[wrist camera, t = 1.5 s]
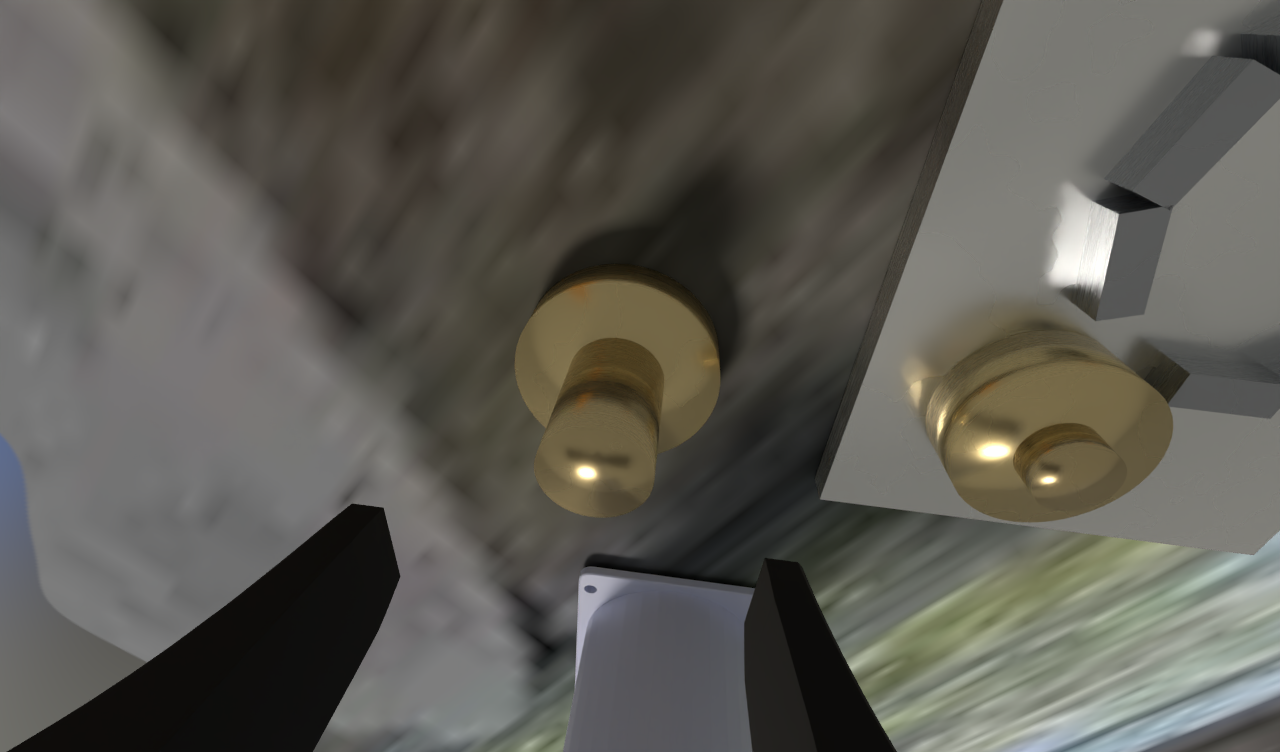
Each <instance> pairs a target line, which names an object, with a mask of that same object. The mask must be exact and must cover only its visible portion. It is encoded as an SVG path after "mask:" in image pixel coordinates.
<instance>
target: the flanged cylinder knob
mask: <svg viewBox="0 0 1280 752" xmlns="http://www.w3.org/2000/svg"><path fill="white" fill-rule="evenodd" d="M515 373H516V380H517V383H518V387H519V390H520V392H521V395H522V397H523V399H524V401H525V403H526V405H527V406H528V408H529V410H530V411H531V412H532V414H533V415H534V416H535V417H536V419H537V420H538V421H539V422H540V423H541V424H542V425H543V426H544V427H545V428H546V430H545V433H544V435H543V438H542V441H541V443H540V446H539V449H538V451H537V454H536V457H535V461H534V471H535V476H536V479H537V481H538V483H539V485H540V487H541V488H542V490H543V491H544V492H545V494H546V495H547V496H548V497H549V498H550V499H551V500H553V501H554V502H555V503H557V504H558V505H560V506H561V507H563V508H565V509H567V510H569V511H572V512H574V513H577V514H581V515H584V516H590V517H614V516H619V515H623V514H626V513H628V512H631V511H633V510H634V509H636V508H638V507H639V506H640V505H642V504H643V503H644V502H645V501H646V499H647V498H648V497H649V495H650V494H651V491H652V489H653V485H654V478H655V468H656V459H657V454H659V453H662V452H665V451H667V450H670V449H672V448H674V447H676V446H678V445H680V444H682V443H683V442H685V441H686V440H688V439H689V438H690V437H692V436H693V435H694V434H695V433H696V432H697V431H698V430H699V429H700V428H701V427H702V426H703V425H704V424H705V423H706V421H707V419H708V418H709V416H710V415H711V413H712V411H713V409H714V407H715V405H716V402H717V398H718V395H719V390H720V359H719V343H718V338H717V333H716V330H715V327H714V325H713V322H712V320H711V318H710V316H709V314H708V313H707V311H706V310H705V308H704V307H703V305H702V304H701V303H700V301H699V300H698V299H697V298H696V297H695V296H694V295H693V294H692V293H691V292H690V291H689V290H687V289H686V288H685V287H684V286H682V285H681V284H680V283H678V282H677V281H675V280H673V279H672V278H670V277H668V276H666V275H664V274H662V273H659V272H657V271H654V270H651V269H648V268H645V267H640V266H635V265H629V264H606V265H598V266H593V267H589V268H586V269H583V270H580V271H577V272H575V273H573V274H571V275H569V276H567V277H565V278H564V279H562V280H561V281H559V282H558V283H556V284H555V285H554V286H553V287H552V288H551V289H550V290H549V291H548V292H547V293H546V294H545V295H544V296H543V298H542V299H541V300H540V302H539V303H538V305H537V307H536V309H535V310H534V312H533V314H532V316H531V317H530V319H529V321H528V323H527V324H526V326H525V328H524V330H523V332H522V333H521V336H520V339H519V341H518V344H517V349H516V354H515Z"/></svg>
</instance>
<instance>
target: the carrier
mask: <svg viewBox="0 0 1280 752" xmlns="http://www.w3.org/2000/svg"><path fill="white" fill-rule="evenodd" d="M815 482H816V486H817V490H818V495H819V499H821V500H829V501H837V502H844V503H852V504H860V505H868V506H876V507H883V508H891V509H899V510H907V511H914V512H922V513H930V514H938V515H946V516H953V517H961V518H969V519H977V520H984V521H992V522H1000V523H1008V524H1016V525H1023V526H1031V527H1039V528H1047V529H1054V530H1062V531H1070V532H1078V533H1086V534H1093V535H1101V536H1109V537H1117V538H1124V539H1132V540H1140V541H1148V542H1156V543H1163V544H1171V545H1179V546H1187V547H1194V548H1202V549H1210V550H1218V551H1226V552H1233V553H1241V554H1249V555H1254V554H1255V553H1256V552H1257V551H1258V550H1259V549H1260V548H1262V547H1263V546H1264V545H1265V544H1266V543H1267V542H1268V541H1269V540H1270V539H1271V538H1272V537H1273V536H1274V535H1275V534H1276V533H1277V532H1278V531H1279V530H1280V0H982V3H981V6H980V9H979V12H978V14H977V17H976V20H975V23H974V26H973V29H972V32H971V34H970V37H969V40H968V43H967V46H966V49H965V51H964V54H963V57H962V60H961V63H960V66H959V69H958V71H957V74H956V77H955V80H954V83H953V86H952V88H951V91H950V94H949V97H948V100H947V103H946V106H945V108H944V111H943V114H942V117H941V120H940V123H939V125H938V128H937V131H936V134H935V137H934V140H933V143H932V145H931V148H930V151H929V154H928V157H927V160H926V163H925V165H924V168H923V171H922V174H921V177H920V180H919V182H918V185H917V188H916V191H915V194H914V197H913V200H912V202H911V205H910V208H909V211H908V214H907V217H906V219H905V222H904V225H903V228H902V231H901V234H900V237H899V239H898V242H897V245H896V248H895V251H894V254H893V256H892V259H891V262H890V265H889V268H888V271H887V274H886V276H885V279H884V282H883V285H882V288H881V291H880V293H879V296H878V299H877V302H876V305H875V308H874V311H873V313H872V316H871V319H870V322H869V325H868V328H867V331H866V333H865V336H864V339H863V342H862V345H861V348H860V350H859V353H858V356H857V359H856V362H855V365H854V368H853V370H852V373H851V376H850V379H849V382H848V385H847V387H846V390H845V393H844V396H843V399H842V402H841V405H840V407H839V410H838V413H837V416H836V419H835V422H834V424H833V427H832V430H831V433H830V436H829V439H828V442H827V444H826V447H825V450H824V453H823V456H822V459H821V461H820V464H819V467H818V470H817V473H816V476H815Z"/></svg>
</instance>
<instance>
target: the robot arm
mask: <svg viewBox="0 0 1280 752" xmlns="http://www.w3.org/2000/svg"><path fill="white" fill-rule="evenodd" d="M399 578H400V573H399V569H398V565H397V561H396V557H395V553H394V549H393V545H392V541H391V536H390V532H389V528H388V524H387V520H386V516H385V512H384V508H381V507H374V506H366V505H359V504H351V505H350V506H348V507H347V508H346V509H345V510H343V511H342V512H341V513H340V514H338V515H337V516H336V517H335V518H333V519H332V520H331V521H330V522H329V523H327V524H326V525H325V526H324V527H322V528H321V529H320V530H319V531H318V532H316V533H315V534H314V535H313V536H312V537H310V538H309V539H308V540H307V541H306V542H304V543H303V544H302V545H301V546H299V547H298V548H297V549H296V550H295V551H293V552H292V553H291V554H290V555H288V556H287V557H286V558H285V559H284V560H282V561H281V562H280V563H279V564H277V565H276V566H275V567H274V568H272V569H271V570H270V571H269V572H267V573H266V574H265V575H264V576H262V577H261V578H260V579H259V580H257V581H256V582H255V583H254V584H252V585H251V586H250V587H249V588H247V589H246V590H245V591H243V592H242V593H241V594H240V595H238V596H237V597H236V598H235V599H233V600H232V601H231V602H229V603H228V604H227V605H226V606H224V607H223V608H222V609H220V610H219V611H218V612H216V613H215V614H214V615H212V616H211V617H209V618H208V619H207V620H205V621H204V622H203V623H201V624H200V625H199V626H197V627H196V628H195V629H193V630H192V631H191V632H189V633H188V634H187V635H185V636H184V637H182V638H181V639H180V640H178V641H177V642H176V643H174V644H173V645H172V646H170V647H169V648H167V649H166V650H165V651H163V652H162V653H160V654H159V655H157V656H156V657H155V658H153V659H152V660H150V661H149V662H147V663H146V664H145V665H143V666H142V667H140V668H139V669H137V670H136V671H134V672H133V673H132V674H130V675H129V676H127V677H125V678H124V679H122V680H121V681H119V682H118V683H116V684H115V685H113V686H112V687H110V688H109V689H107V690H106V691H104V692H103V693H101V694H100V695H98V696H97V697H95V698H94V699H92V700H91V701H89V702H88V703H86V704H84V705H83V706H81V707H80V708H78V709H76V710H75V711H73V712H72V713H70V714H68V715H67V716H65V717H63V718H62V719H60V720H59V721H57V722H56V723H54V724H52V725H51V726H49V727H47V728H46V729H44V730H42V731H41V732H39V733H37V734H36V735H34V736H32V737H31V738H29V739H27V740H26V741H24V742H22V743H21V744H19V745H17V746H16V747H14V748H12V749H11V750H9V751H7V752H313V750H314V749H315V747H316V745H317V743H318V741H319V739H320V738H321V736H322V734H323V732H324V730H325V728H326V727H327V725H328V723H329V721H330V719H331V717H332V716H333V714H334V712H335V710H336V708H337V706H338V705H339V703H340V701H341V699H342V697H343V695H344V694H345V692H346V690H347V688H348V686H349V684H350V683H351V681H352V679H353V677H354V675H355V673H356V672H357V670H358V668H359V666H360V664H361V662H362V660H363V659H364V657H365V655H366V653H367V651H368V649H369V647H370V646H371V644H372V642H373V640H374V638H375V636H376V634H377V632H378V630H379V628H380V626H381V623H382V621H383V619H384V616H385V614H386V611H387V609H388V607H389V604H390V602H391V599H392V596H393V594H394V591H395V589H396V586H397V584H398V581H399ZM563 752H897V751H896V750H895V748H894V746H893V745H892V743H891V741H890V740H889V738H888V736H887V734H886V733H885V731H884V729H883V728H882V726H881V724H880V723H879V721H878V719H877V717H876V716H875V714H874V712H873V710H872V708H871V707H870V705H869V703H868V701H867V699H866V698H865V696H864V694H863V692H862V690H861V688H860V686H859V685H858V683H857V681H856V679H855V677H854V675H853V673H852V671H851V669H850V668H849V666H848V664H847V662H846V660H845V658H844V656H843V654H842V652H841V650H840V648H839V646H838V644H837V642H836V640H835V638H834V636H833V634H832V632H831V630H830V628H829V626H828V624H827V622H826V620H825V618H824V616H823V613H822V611H821V609H820V607H819V605H818V603H817V600H816V598H815V596H814V594H813V591H812V589H811V587H810V585H809V582H808V580H807V578H806V575H805V573H804V570H803V568H802V567H801V565H800V564H799V563H798V562H791V561H784V560H776V559H768V558H765V559H764V562H763V565H762V568H761V572H760V575H759V578H758V581H757V584H756V587H755V588H749V587H742V586H735V585H727V584H720V583H712V582H705V581H697V580H690V579H682V578H675V577H668V576H660V575H653V574H645V573H638V572H630V571H623V570H615V569H608V568H600V567H593V566H589V567H585V568H583V569H582V570H581V572H580V577H579V592H578V619H577V646H576V672H575V691H574V696H573V701H572V707H571V712H570V717H569V722H568V728H567V733H566V738H565V744H564V749H563Z"/></svg>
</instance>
